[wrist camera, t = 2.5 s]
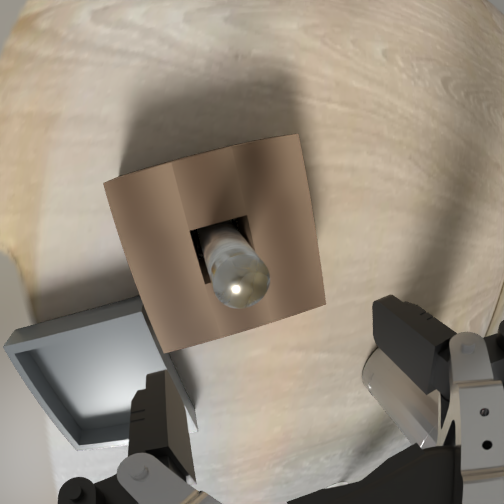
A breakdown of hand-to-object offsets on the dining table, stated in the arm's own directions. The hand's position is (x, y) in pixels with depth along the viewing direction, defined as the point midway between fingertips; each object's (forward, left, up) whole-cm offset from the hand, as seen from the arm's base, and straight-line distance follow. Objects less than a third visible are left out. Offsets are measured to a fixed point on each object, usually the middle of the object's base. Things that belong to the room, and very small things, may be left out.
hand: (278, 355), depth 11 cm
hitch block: (0, 0, -19) cm, 19 cm away
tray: (+16, +12, -19) cm, 27 cm away
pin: (0, 0, -19) cm, 19 cm away
